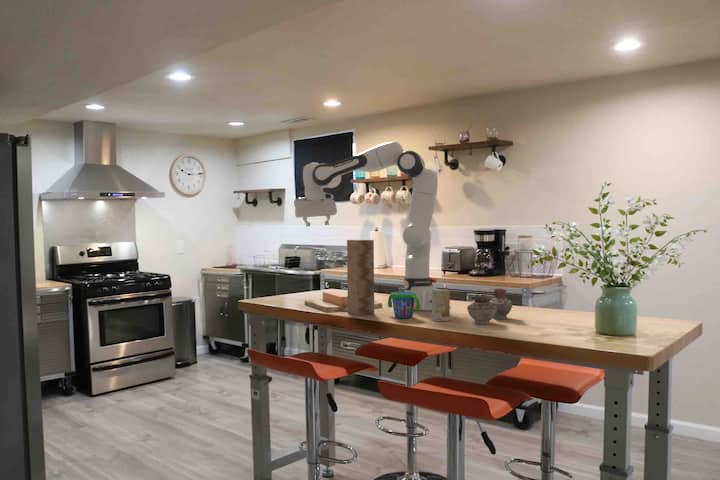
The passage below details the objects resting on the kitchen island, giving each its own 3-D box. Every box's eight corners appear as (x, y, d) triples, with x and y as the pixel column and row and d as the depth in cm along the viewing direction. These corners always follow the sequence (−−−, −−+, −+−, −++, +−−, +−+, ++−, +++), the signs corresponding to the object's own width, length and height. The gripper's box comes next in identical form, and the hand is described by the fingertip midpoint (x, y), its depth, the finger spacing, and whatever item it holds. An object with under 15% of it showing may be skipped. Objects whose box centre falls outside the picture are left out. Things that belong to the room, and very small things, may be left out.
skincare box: (435, 321, 220) (435, 291, 220) (431, 320, 225) (431, 289, 224) (450, 320, 222) (450, 290, 222) (445, 319, 226) (445, 289, 226)
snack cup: (381, 316, 235) (381, 292, 234) (399, 313, 241) (399, 290, 241) (407, 321, 223) (407, 295, 222) (426, 318, 229) (425, 293, 229)
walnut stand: (363, 310, 250) (363, 239, 249) (374, 314, 241) (373, 240, 240) (347, 312, 246) (347, 239, 245) (357, 315, 237) (356, 240, 236)
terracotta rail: (330, 299, 274) (330, 291, 273) (349, 305, 254) (349, 296, 254) (322, 300, 272) (322, 292, 272) (341, 305, 252) (341, 297, 252)
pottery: (518, 318, 227) (518, 289, 227) (487, 327, 209) (487, 295, 208) (493, 315, 235) (493, 287, 235) (461, 323, 216) (461, 293, 216)
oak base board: (356, 300, 284) (356, 296, 284) (382, 307, 259) (382, 303, 259) (304, 304, 272) (304, 300, 272) (326, 312, 247) (326, 307, 247)
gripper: (295, 197, 259) (298, 226, 258) (336, 194, 267) (339, 223, 266) (291, 199, 265) (294, 228, 264) (331, 197, 273) (335, 225, 272)
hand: (317, 225), depth 265 cm, fingers open, 8 cm apart
